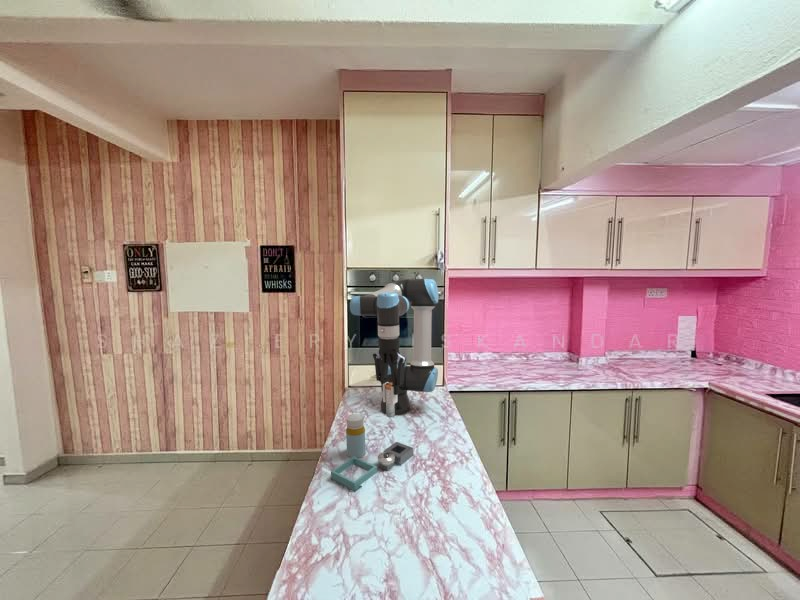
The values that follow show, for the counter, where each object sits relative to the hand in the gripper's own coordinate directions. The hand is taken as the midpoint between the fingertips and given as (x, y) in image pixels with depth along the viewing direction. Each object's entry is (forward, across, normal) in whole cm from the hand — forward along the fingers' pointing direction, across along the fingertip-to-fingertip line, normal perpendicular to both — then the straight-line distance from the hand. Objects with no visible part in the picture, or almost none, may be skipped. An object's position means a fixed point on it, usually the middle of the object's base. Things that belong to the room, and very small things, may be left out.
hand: (390, 401), depth 122 cm
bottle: (+23, -14, -4) cm, 27 cm away
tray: (+23, -6, -14) cm, 27 cm away
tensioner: (+23, +1, 0) cm, 23 cm away
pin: (+5, 0, 0) cm, 5 cm away
